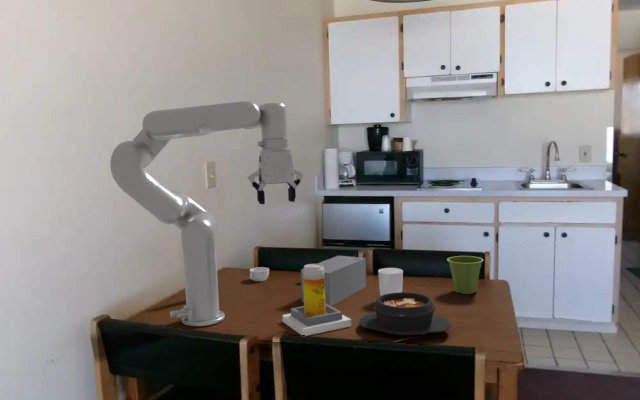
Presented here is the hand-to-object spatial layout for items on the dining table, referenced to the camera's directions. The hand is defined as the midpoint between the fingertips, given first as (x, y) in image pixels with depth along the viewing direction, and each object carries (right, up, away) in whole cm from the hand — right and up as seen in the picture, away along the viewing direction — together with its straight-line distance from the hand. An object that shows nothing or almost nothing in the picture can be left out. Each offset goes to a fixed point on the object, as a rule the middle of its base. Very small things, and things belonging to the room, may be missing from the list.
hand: (276, 202), depth 155 cm
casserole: (+36, -35, -13) cm, 52 cm away
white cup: (+36, -32, +14) cm, 50 cm away
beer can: (+12, -33, -7) cm, 36 cm away
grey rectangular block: (+13, -32, +26) cm, 43 cm away
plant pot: (+62, -31, +21) cm, 73 cm away
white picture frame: (+12, -35, -7) cm, 37 cm away
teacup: (-10, -31, +44) cm, 55 cm away
